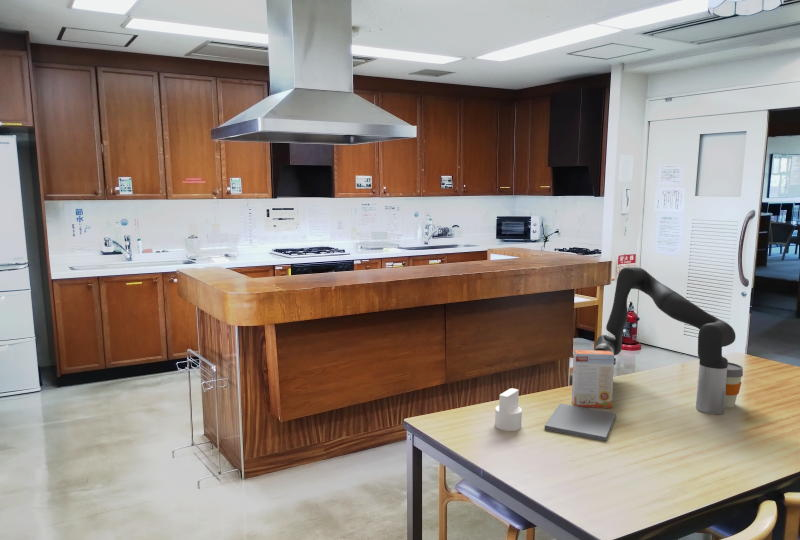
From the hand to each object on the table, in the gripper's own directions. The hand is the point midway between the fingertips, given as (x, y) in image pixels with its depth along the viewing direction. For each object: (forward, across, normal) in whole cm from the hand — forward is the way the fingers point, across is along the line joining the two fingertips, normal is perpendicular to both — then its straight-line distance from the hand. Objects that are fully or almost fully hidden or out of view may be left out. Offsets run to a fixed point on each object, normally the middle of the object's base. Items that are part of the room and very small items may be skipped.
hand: (595, 365), depth 227 cm
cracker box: (+6, 0, +14) cm, 15 cm away
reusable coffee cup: (-20, +44, +14) cm, 50 cm away
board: (+26, 0, +14) cm, 30 cm away
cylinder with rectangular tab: (+40, -22, +14) cm, 48 cm away
